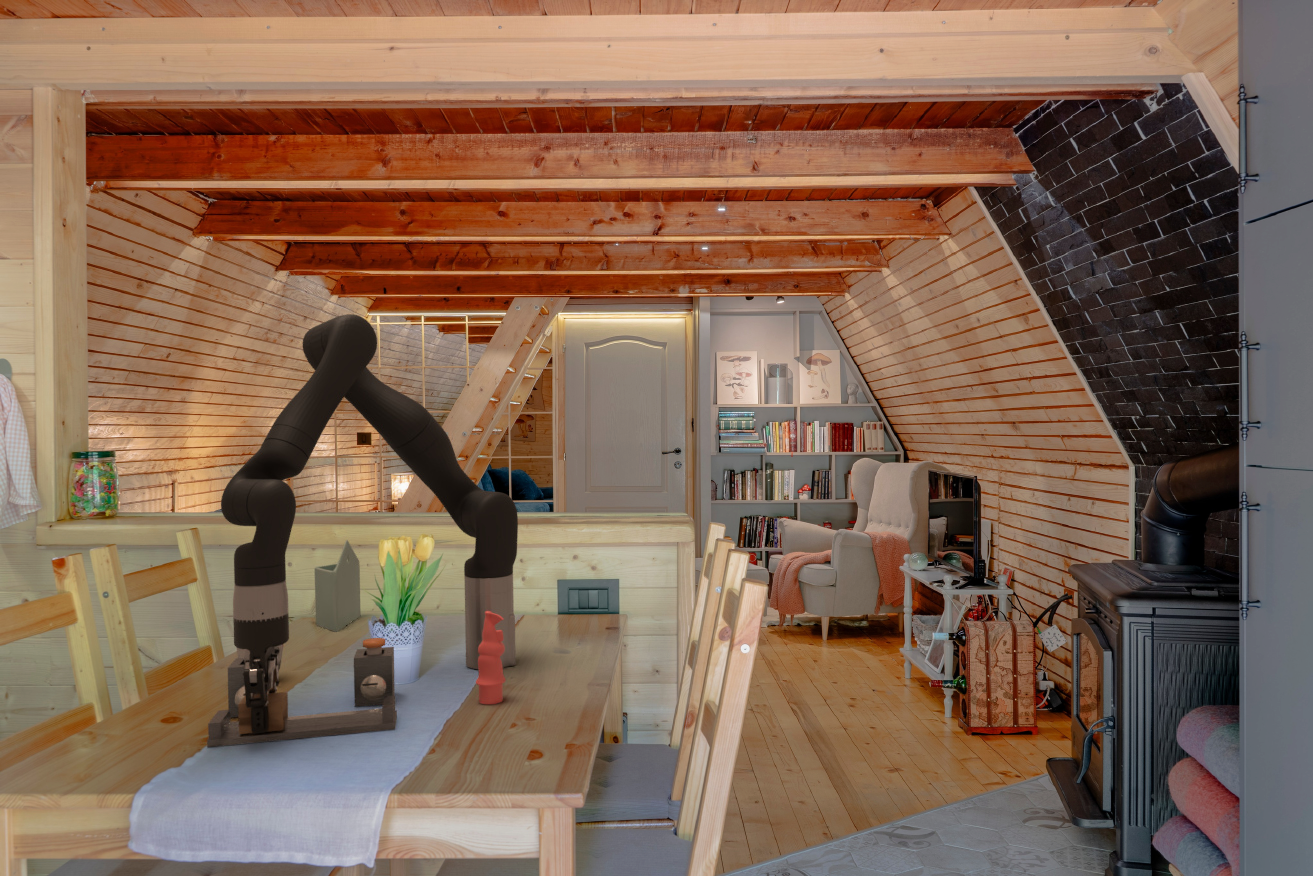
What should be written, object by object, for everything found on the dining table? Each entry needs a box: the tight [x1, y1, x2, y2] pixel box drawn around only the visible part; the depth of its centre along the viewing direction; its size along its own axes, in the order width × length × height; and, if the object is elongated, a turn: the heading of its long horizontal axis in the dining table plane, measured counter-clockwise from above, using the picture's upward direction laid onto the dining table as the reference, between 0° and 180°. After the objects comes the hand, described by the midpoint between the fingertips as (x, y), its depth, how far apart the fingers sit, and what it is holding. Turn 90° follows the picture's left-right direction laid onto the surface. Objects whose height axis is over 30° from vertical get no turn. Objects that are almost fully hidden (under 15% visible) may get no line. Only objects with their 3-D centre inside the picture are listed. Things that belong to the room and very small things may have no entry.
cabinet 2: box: [353, 646, 396, 708], centre depth 146 cm, size 6×6×8 cm
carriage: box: [238, 691, 289, 734], centre depth 130 cm, size 6×4×4 cm
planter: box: [314, 539, 361, 633], centre depth 204 cm, size 16×8×20 cm, turn 1°
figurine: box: [475, 611, 506, 705], centre depth 145 cm, size 5×5×15 cm
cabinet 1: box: [227, 657, 258, 719], centre depth 141 cm, size 6×6×8 cm
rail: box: [206, 694, 398, 748], centre depth 131 cm, size 26×6×3 cm, turn 104°
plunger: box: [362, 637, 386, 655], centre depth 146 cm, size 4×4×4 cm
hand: (263, 725), depth 130 cm, fingers open, 5 cm apart
